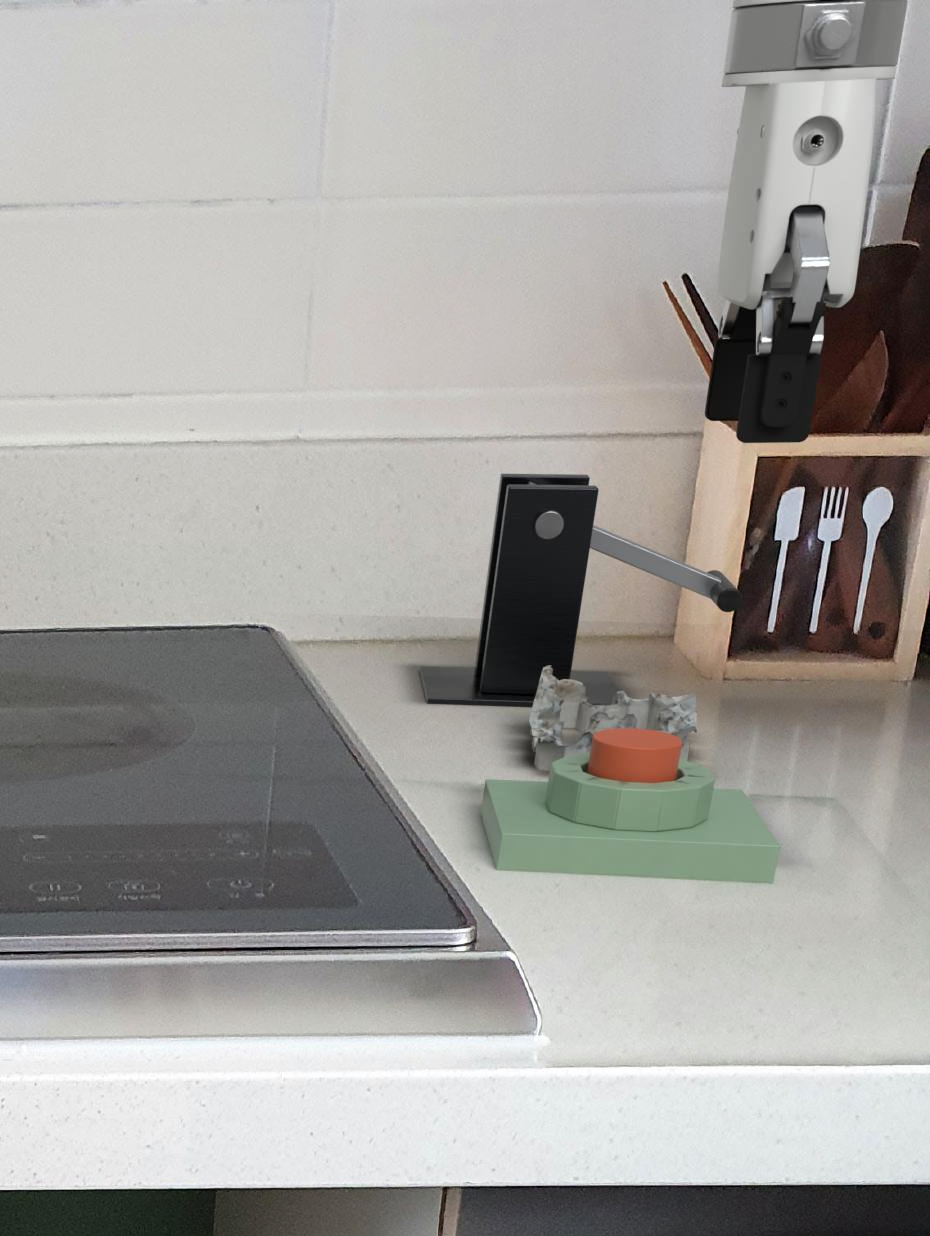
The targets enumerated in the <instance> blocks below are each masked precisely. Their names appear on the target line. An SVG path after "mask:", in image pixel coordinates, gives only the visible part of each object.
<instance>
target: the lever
mask: <svg viewBox="0 0 930 1236" xmlns="http://www.w3.org/2000/svg"><path fill="white" fill-rule="evenodd" d="M527 485H537V484H535V483H532V482H528V484H527ZM590 550H593V551H595V552H598V553H601V554H602V555H605V556H608V557H610V558H613V559H615V560H617V561H619V562H623V563H625V564H627V565H629V566H632V567H634V568H636V569H638V570H641V571H644V572H645V573H648V574H651V575H653V576H655V577H658V578H660V579H662V580H665V581H667V582H670V583H672V584H674V585H676V586H679V587H682V588H684V589H686V590H689V591H691V592H693V593H696V594H698V595H701V596H703V597H705V598H708V599H710V600H711V601H712V602H713V603H714V605H715V606H716V607H717V608H718V609H719V610H720V611H721V612H724V613H732V612H734V611H736V610H738V609H739V608H740V607H741V605H742V603H743V594H742V592H740V591H739V589H738V588H737V587H736V586H735V585H734V584H733V582H732V581H730V580H729V579H728V578H727V577H726V575H725V574H723V572H721V571H720V570H718V569H712V570H709V571H707V572H706V571H704V570H702V569H699V568H697V567H695V566H692V565H690V564H687V563H685V562H683V561H680V560H678V559H676V558H673V557H671V556H668V555H667V554H664V553H662V552H658V551H657V550H654V549H652V548H649V547H647V546H645V545H642V544H640V543H637V542H635V541H633V540H630V539H628V538H626V537H623V536H621V535H619V534H616V533H614V532H611V531H608V530H606V529H604V528H602V527H599V526H596V525H594V524H593V530H592V537H591V544H590Z"/></svg>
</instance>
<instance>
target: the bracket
mask: <svg viewBox="0 0 930 1236" xmlns="http://www.w3.org/2000/svg"><path fill="white" fill-rule="evenodd" d="M590 480H591V478H590V475H588V474H573V473H571V474H568V473H567V474H565V473H564V474H563V473H562V474H561V473H559V474H558V473H557V474H556V473H500V477H499V483H498V484H499V485H498V491H497V500H496V507H495V514H494V521H493V529H492V537H491V542H490V543H491V545H490V551H489V559H488V567H487V573H486V582H485V588H484V597H483V604H482V612H481V618H480V619H481V620H480V628H479V635H478V641H477V649H476V657H475V663H474V667H463V666H462V667H459V666H457V667H456V666H431V665H429V666H427V665H426V666H425V665H421V666H419V675H420V676H419V677H420V681H421V684H422V688H423V693H424V697H425V701H426V704H427V705H449V706H450V705H453V706H477V707H478V706H481V707H507V708H508V707H509V708H510V707H511V708H532V707H533V703H534V699H535V696H536V693H537V689H538V685H539V680H540V676H541V673H542V670H543V667H545V666H547V665H548V666H549V665H551V668H552V669H553V673H552V675H553V676H554V677H555V678H557V679H559V681H560V680H562V679H571V680H576V681H579V682H582V683H583V684H584V686H585V690H586V696H587V700H586V702H588V703H589V704H591V705H593V706H597V705H604V706H607V705H611V704H612V701H613V696H614V695H615V694H616V693H617V692H618V691H620V690H619V689H618V687H617V685H616V683H615V682H614V680H613V678H612V676H611V675H610V673H609V671H597V670H596V671H594V670H592V671H591V670H590V671H589V670H572V669H573V662H574V655H575V648H576V641H577V635H578V629H579V621H580V615H581V610H582V609H581V608H582V603H583V595H584V590H585V583H586V574H587V569H588V563H589V555H590V550H591V548H590V544H591V537H592V530H593V525H594V523H595V518H596V510H597V504H598V497H599V488H598V486H597V485H590ZM528 482H532V483H535V484H537V485H527V484H528Z"/></svg>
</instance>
